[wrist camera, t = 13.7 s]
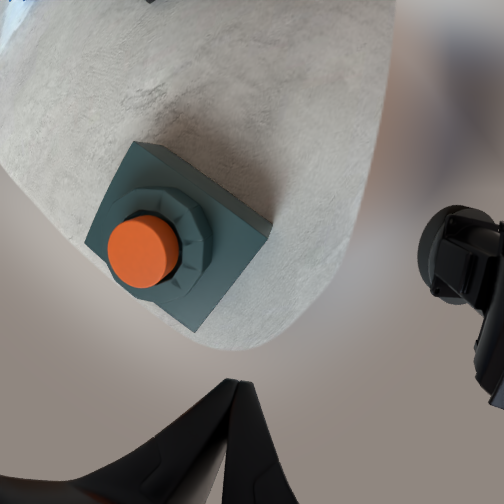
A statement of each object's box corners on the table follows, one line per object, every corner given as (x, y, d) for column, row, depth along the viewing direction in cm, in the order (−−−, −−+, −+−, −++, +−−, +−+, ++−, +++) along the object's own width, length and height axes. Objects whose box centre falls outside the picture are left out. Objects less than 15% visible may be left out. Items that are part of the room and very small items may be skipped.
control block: (273, 225, 20) (265, 246, 14) (211, 305, 22) (185, 348, 16) (162, 145, 19) (116, 138, 14) (115, 230, 22) (67, 249, 16)
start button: (191, 240, 15) (179, 249, 13) (160, 289, 16) (147, 301, 14) (140, 201, 15) (123, 206, 13) (115, 252, 16) (98, 260, 14)
